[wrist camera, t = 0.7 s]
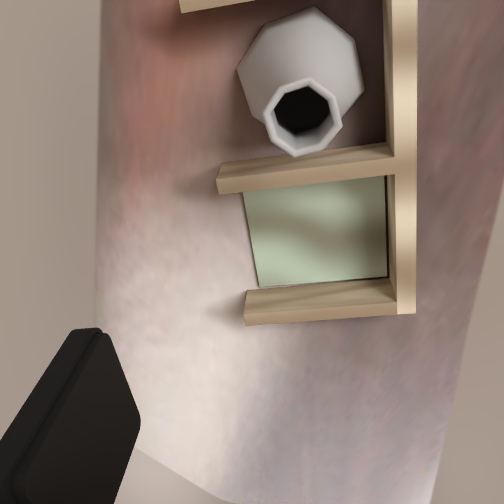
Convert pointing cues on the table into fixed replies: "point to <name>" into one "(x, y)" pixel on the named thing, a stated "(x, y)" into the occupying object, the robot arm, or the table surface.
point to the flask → (301, 80)
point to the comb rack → (337, 206)
